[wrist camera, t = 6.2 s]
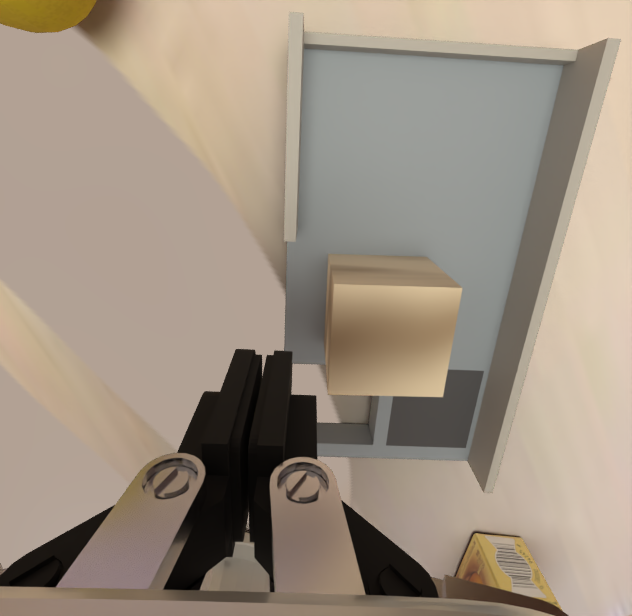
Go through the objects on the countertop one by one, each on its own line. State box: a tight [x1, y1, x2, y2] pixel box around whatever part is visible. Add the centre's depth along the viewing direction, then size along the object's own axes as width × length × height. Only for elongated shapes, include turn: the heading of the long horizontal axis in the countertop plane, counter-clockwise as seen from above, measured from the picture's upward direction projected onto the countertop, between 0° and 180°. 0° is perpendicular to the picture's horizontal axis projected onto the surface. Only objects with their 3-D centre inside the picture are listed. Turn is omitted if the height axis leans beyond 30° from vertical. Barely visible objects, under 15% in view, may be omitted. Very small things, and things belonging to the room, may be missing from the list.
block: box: [324, 254, 462, 397], centre depth 18 cm, size 5×5×5 cm
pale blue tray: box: [284, 12, 621, 493], centre depth 20 cm, size 22×12×5 cm, turn 177°
